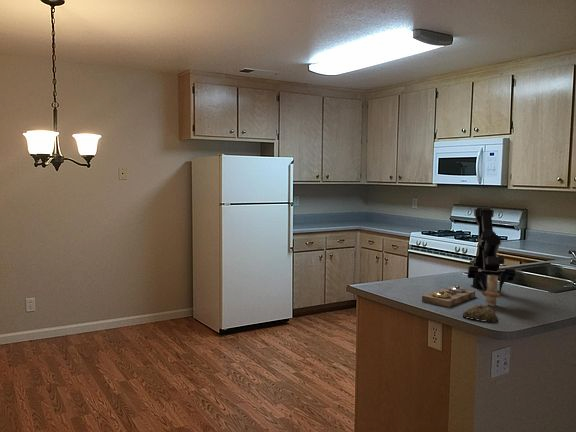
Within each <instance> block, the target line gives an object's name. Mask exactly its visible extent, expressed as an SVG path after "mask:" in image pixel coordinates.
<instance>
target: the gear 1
mask: <svg viewBox="0 0 576 432" xmlns="http://www.w3.org/2000/svg"><path fill="white" fill-rule="evenodd" d="M436 291H437V292H435V291H431V293H432V296H434V297H436V298H443V299H446V298H451V294H449V293H447V292H444V291H438V290H436Z"/></svg>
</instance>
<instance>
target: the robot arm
mask: <svg viewBox="0 0 576 432" xmlns="http://www.w3.org/2000/svg"><path fill="white" fill-rule="evenodd" d="M494 212H495V211H494V209H491V207H488V206H487V207H486V206H477V207H476V208H474V211H473V216H474V217H475V218H474V219H475V220H474V221H475V222H476V224H477V225H478V236H477V237H478V240H477V244H478V245H477V255H476V257H474V260H473V261H474V262H473V263H472V265H469V266H468V269H467V273H466V275H467V278H468V279H472V284H471V285H470V286H471V287H473V288H476V289H479V290H484V291H486V290H487V277H488V275H497V276H498V277H499V279H498V280H499V283H498V289H499V292H502V290H503V289H502V288H503V285H504V283H507V282H508V281H509V282H513V281H514V280H515V277H516V275H517V272H516V269H515V268H507V267H505V269H504V271H502V270H501V271H500V270H499V269H500V265H504V264H505V256H504V255H499V256H498V252H499V247H500V245H501V243H502V241H501V239H500V237H498V236H497V233H496V232H495V231H494V229H493V228H494V227H493V218H494V215H495V214H494Z"/></svg>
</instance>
